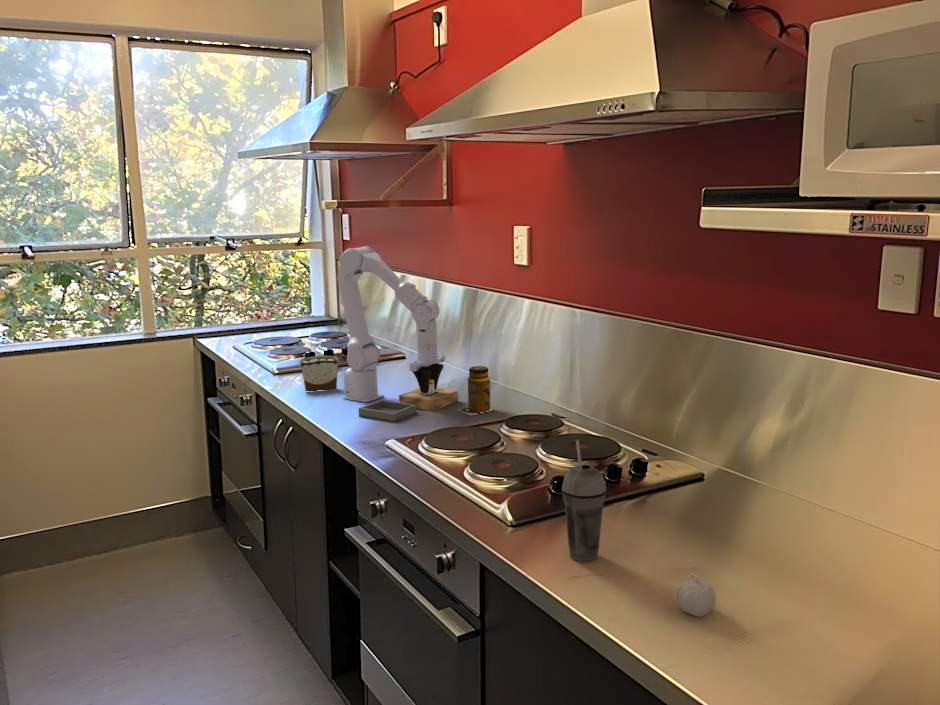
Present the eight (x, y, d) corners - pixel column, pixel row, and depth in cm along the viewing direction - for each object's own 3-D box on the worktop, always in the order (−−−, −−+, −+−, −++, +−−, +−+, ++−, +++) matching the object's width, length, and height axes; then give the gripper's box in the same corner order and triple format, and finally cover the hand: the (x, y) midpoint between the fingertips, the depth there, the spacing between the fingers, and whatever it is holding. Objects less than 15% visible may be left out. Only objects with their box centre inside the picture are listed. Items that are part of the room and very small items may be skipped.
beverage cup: (613, 562, 130) (615, 443, 126) (572, 569, 128) (572, 448, 124) (594, 544, 137) (595, 430, 133) (554, 550, 135) (554, 435, 131)
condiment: (496, 411, 220) (496, 368, 218) (471, 416, 216) (470, 372, 213) (481, 405, 226) (480, 363, 224) (456, 410, 222) (455, 368, 219)
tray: (358, 416, 218) (358, 408, 217) (382, 407, 226) (381, 399, 226) (394, 422, 211) (393, 413, 211) (416, 413, 220) (416, 405, 219)
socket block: (399, 405, 228) (398, 395, 227) (424, 396, 238) (423, 386, 237) (434, 411, 221) (433, 400, 221) (458, 401, 231) (457, 390, 231)
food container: (338, 385, 254) (336, 354, 252) (341, 389, 248) (339, 357, 246) (298, 388, 250) (296, 357, 248) (301, 393, 244) (298, 361, 242)
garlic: (676, 598, 118) (677, 565, 117) (715, 603, 116) (716, 570, 115) (674, 619, 112) (675, 585, 111) (715, 624, 111) (716, 589, 110)
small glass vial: (420, 404, 229) (419, 380, 228) (427, 401, 232) (426, 377, 230) (430, 405, 227) (429, 381, 226) (437, 402, 230) (436, 378, 229)
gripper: (423, 349, 218) (425, 398, 221) (453, 340, 230) (454, 387, 233) (402, 347, 222) (404, 395, 224) (433, 338, 234) (434, 384, 236)
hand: (428, 391), depth 229 cm, fingers closed on small glass vial, 3 cm apart
